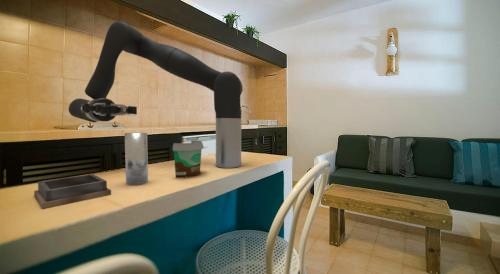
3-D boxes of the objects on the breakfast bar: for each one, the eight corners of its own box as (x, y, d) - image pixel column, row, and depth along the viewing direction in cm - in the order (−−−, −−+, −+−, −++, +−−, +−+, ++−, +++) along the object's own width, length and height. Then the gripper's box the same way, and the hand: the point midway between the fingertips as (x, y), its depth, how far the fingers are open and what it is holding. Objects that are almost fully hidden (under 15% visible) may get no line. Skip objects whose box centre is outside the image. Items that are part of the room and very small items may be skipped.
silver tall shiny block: (133, 179, 63) (132, 132, 62) (151, 180, 62) (151, 132, 61) (121, 185, 58) (119, 133, 57) (140, 185, 57) (139, 133, 56)
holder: (95, 184, 58) (94, 173, 57) (111, 194, 50) (110, 180, 50) (34, 195, 49) (33, 181, 49) (42, 208, 42) (41, 192, 42)
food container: (193, 180, 63) (192, 144, 62) (172, 178, 64) (172, 143, 64) (209, 170, 75) (209, 140, 74) (192, 169, 76) (192, 139, 76)
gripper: (73, 96, 71) (89, 93, 60) (123, 100, 82) (143, 98, 71) (74, 120, 71) (90, 121, 61) (123, 121, 82) (143, 122, 72)
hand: (118, 109), depth 66 cm, fingers open, 8 cm apart
